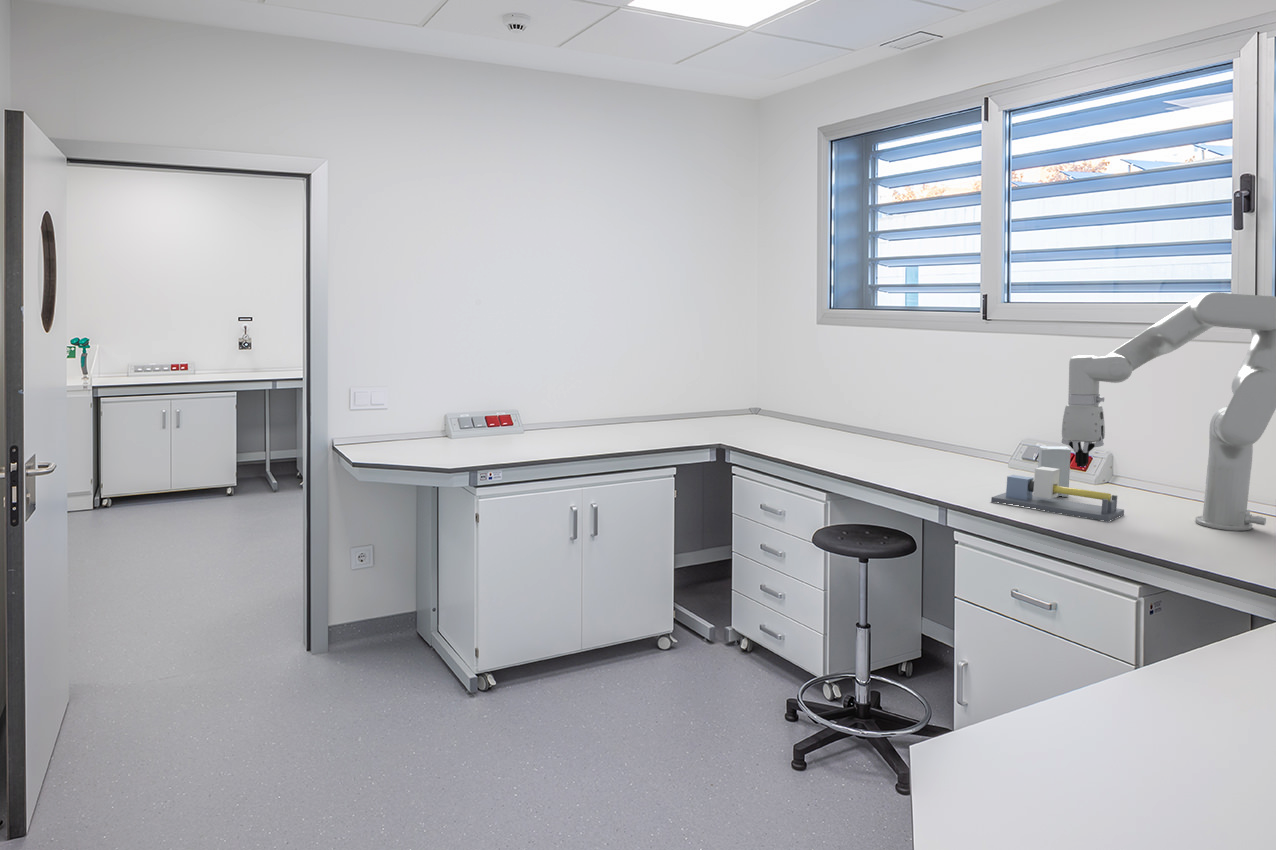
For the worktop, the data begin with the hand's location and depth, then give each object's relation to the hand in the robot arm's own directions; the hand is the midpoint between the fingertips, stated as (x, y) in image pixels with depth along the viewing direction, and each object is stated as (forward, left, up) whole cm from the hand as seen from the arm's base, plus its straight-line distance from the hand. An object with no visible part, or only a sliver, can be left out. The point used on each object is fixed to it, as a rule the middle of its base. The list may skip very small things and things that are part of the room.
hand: (1081, 466), depth 247 cm
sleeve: (+9, 0, -10) cm, 13 cm away
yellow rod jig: (+6, 0, -13) cm, 14 cm away
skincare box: (+14, -18, -13) cm, 26 cm away
